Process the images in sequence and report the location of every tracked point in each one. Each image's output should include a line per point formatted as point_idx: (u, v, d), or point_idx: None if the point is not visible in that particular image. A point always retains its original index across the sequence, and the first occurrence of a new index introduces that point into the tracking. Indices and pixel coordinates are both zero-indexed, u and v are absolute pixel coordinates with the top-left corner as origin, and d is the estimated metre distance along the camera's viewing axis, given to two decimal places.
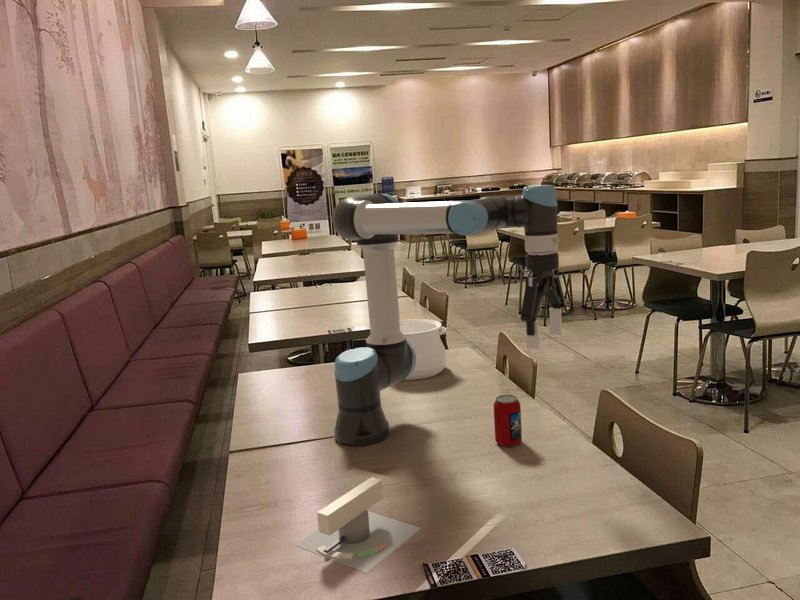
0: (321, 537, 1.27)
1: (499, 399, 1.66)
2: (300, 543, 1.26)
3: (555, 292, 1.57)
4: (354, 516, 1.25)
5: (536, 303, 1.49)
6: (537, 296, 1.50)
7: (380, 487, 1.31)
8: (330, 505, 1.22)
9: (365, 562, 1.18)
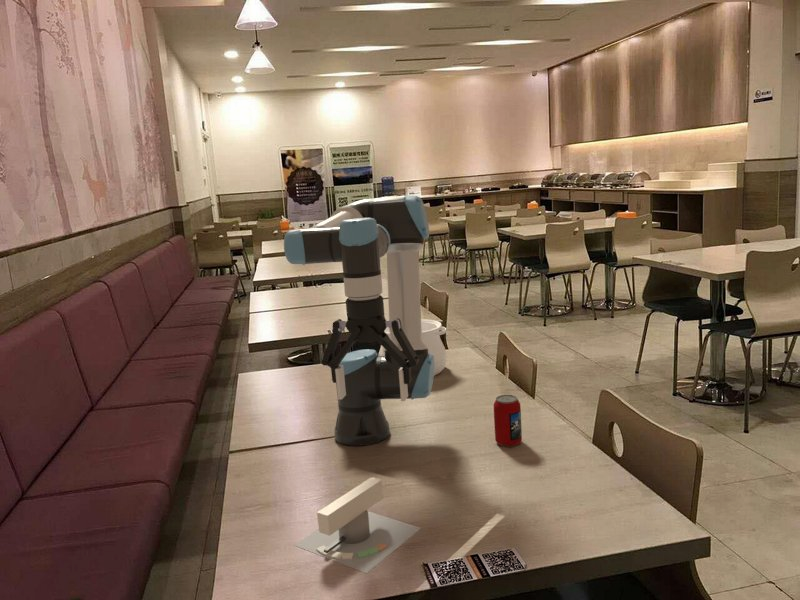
0: (321, 537, 1.27)
1: (499, 399, 1.66)
2: (300, 543, 1.26)
3: None
4: (354, 516, 1.25)
5: (397, 348, 1.31)
6: (390, 341, 1.31)
7: (380, 487, 1.31)
8: (330, 505, 1.22)
9: (365, 562, 1.18)
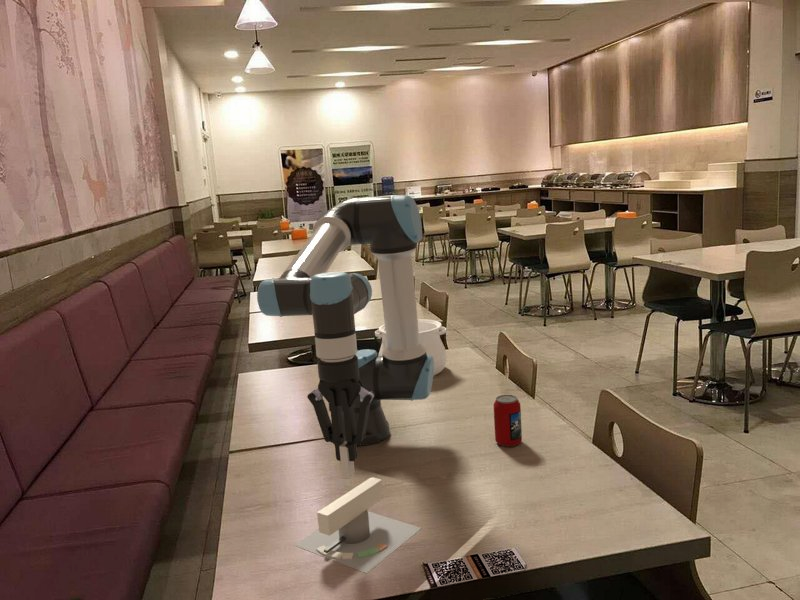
0: (321, 537, 1.27)
1: (499, 399, 1.66)
2: (300, 543, 1.26)
3: None
4: (354, 516, 1.25)
5: (354, 420, 1.23)
6: (353, 412, 1.23)
7: (380, 487, 1.31)
8: (330, 505, 1.22)
9: (365, 562, 1.18)
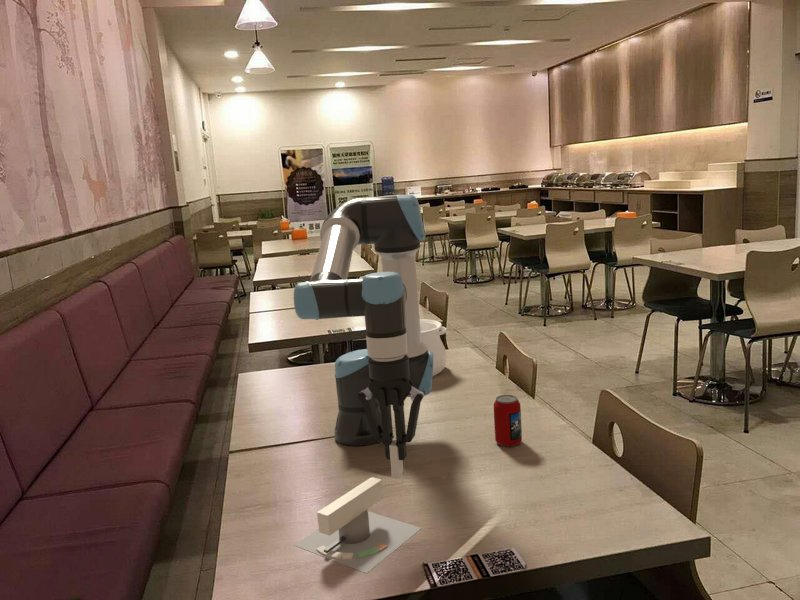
0: (321, 537, 1.27)
1: (499, 399, 1.66)
2: (300, 543, 1.26)
3: None
4: (354, 516, 1.25)
5: (404, 420, 1.24)
6: (403, 411, 1.23)
7: (380, 487, 1.31)
8: (330, 505, 1.22)
9: (365, 562, 1.18)
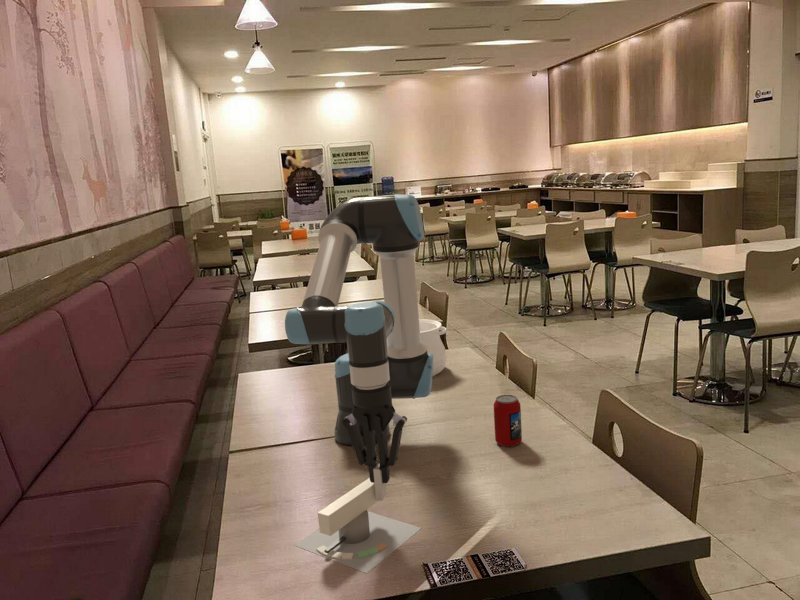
0: (321, 537, 1.27)
1: (499, 399, 1.66)
2: (300, 543, 1.26)
3: None
4: (354, 516, 1.25)
5: (387, 444, 1.28)
6: (385, 436, 1.28)
7: None
8: (330, 505, 1.22)
9: (365, 562, 1.18)
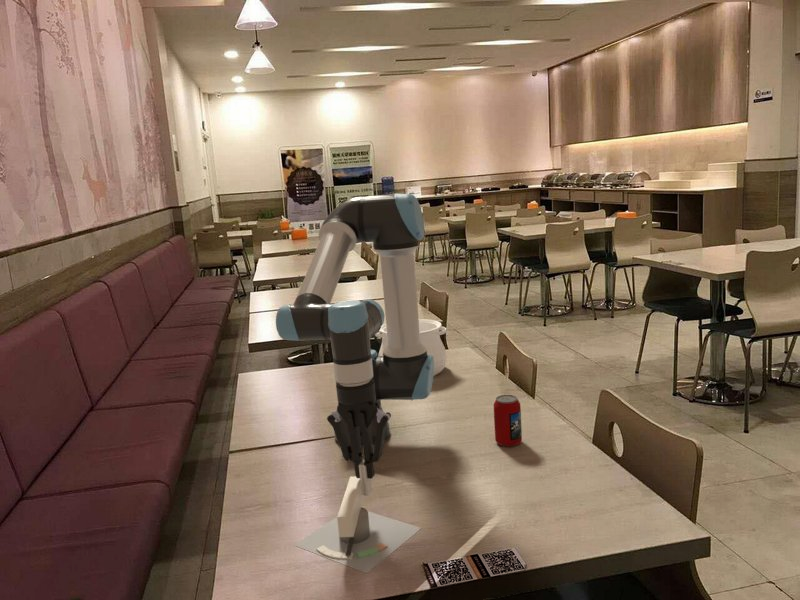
0: (321, 537, 1.27)
1: (499, 399, 1.66)
2: (300, 543, 1.26)
3: None
4: (358, 514, 1.25)
5: (371, 440, 1.30)
6: (370, 432, 1.30)
7: None
8: (342, 508, 1.21)
9: (365, 562, 1.18)
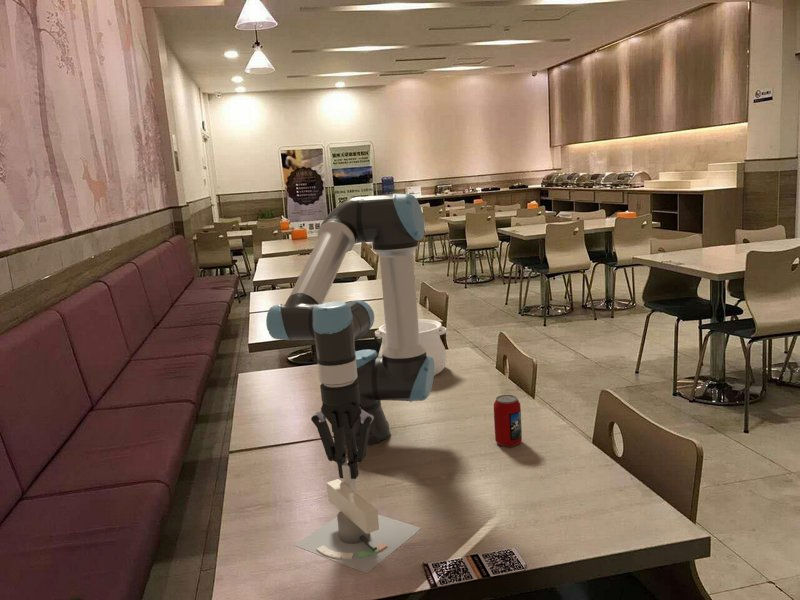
0: (321, 537, 1.27)
1: (499, 399, 1.66)
2: (300, 543, 1.26)
3: None
4: None
5: (355, 441, 1.31)
6: (354, 432, 1.30)
7: None
8: (359, 506, 1.21)
9: (365, 562, 1.18)
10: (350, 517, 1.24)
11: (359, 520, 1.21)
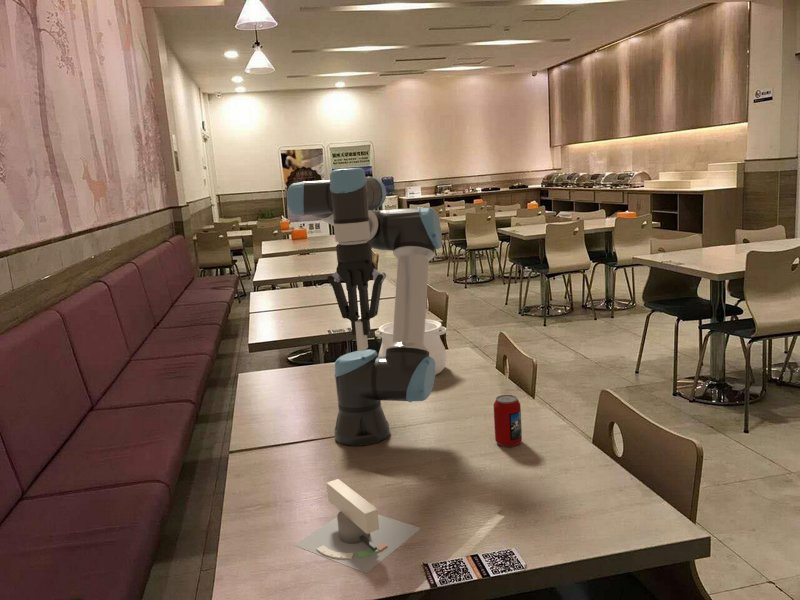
0: (321, 537, 1.27)
1: (499, 399, 1.66)
2: (300, 543, 1.26)
3: None
4: None
5: (368, 299, 1.42)
6: (366, 291, 1.41)
7: None
8: (359, 506, 1.21)
9: (365, 562, 1.18)
10: (350, 517, 1.24)
11: (359, 520, 1.21)
